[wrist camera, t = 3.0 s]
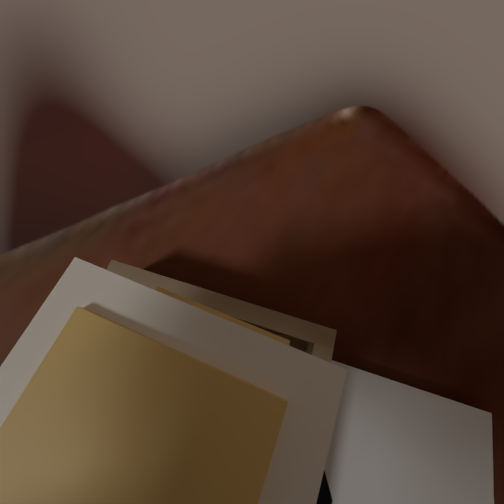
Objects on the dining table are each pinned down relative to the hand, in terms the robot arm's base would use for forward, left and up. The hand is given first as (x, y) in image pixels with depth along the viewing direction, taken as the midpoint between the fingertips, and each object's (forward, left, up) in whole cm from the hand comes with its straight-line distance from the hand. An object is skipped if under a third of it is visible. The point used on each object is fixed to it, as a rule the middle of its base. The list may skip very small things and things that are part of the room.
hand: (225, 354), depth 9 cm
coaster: (-3, -10, -7) cm, 12 cm away
